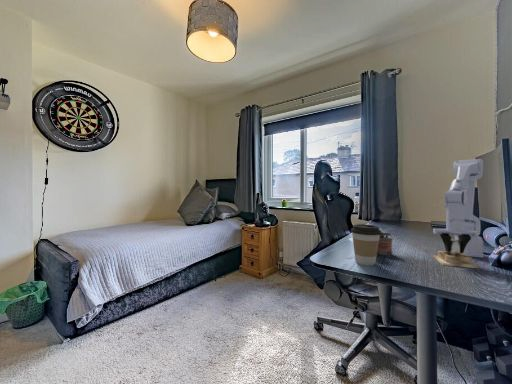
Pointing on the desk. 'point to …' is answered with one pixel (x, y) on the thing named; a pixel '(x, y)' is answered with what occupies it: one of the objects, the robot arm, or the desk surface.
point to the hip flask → (385, 244)
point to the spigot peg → (455, 248)
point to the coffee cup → (365, 243)
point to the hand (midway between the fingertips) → (454, 252)
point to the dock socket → (455, 260)
